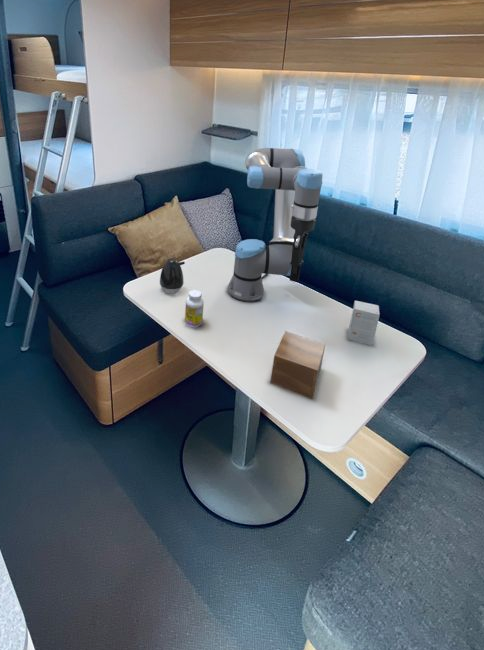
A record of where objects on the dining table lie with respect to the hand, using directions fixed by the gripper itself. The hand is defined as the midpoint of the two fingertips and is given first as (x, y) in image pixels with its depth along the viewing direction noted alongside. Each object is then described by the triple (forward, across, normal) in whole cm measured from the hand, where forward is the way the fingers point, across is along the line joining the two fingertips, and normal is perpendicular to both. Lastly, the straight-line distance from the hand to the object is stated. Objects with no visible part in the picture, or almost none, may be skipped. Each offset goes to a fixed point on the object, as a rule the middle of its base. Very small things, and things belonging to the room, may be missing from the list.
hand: (293, 280), depth 141 cm
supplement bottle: (+23, +11, -32) cm, 41 cm away
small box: (+23, -12, +24) cm, 35 cm away
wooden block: (+22, +20, +8) cm, 31 cm away
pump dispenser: (+23, -5, -50) cm, 55 cm away
